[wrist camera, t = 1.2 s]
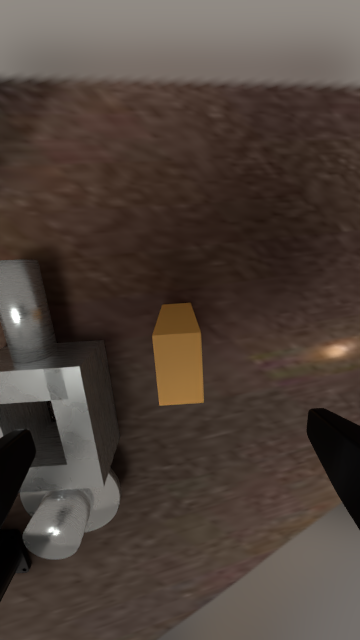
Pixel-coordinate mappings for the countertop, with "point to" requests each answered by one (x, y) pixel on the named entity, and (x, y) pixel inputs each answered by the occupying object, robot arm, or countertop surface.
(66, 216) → the countertop surface
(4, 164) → the countertop surface
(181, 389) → the wedge
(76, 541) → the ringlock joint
